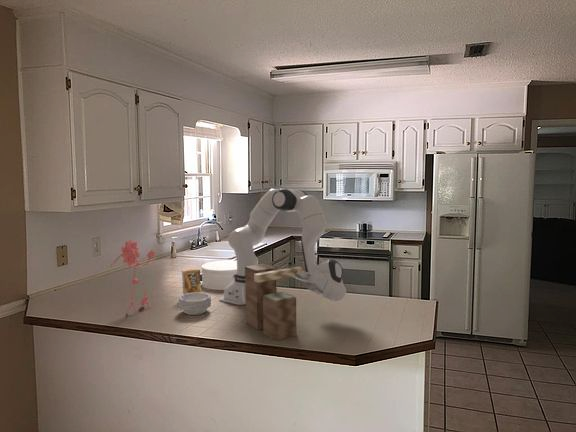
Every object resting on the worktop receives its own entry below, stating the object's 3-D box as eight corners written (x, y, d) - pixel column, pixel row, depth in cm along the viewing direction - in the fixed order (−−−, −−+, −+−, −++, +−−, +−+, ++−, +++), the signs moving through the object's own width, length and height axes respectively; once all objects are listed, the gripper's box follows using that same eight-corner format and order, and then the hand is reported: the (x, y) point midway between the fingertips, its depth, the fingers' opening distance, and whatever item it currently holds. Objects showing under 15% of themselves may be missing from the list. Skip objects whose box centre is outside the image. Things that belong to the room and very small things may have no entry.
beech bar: (298, 273, 202) (298, 266, 202) (303, 274, 200) (302, 267, 200) (254, 281, 190) (254, 273, 190) (258, 282, 188) (257, 275, 187)
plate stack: (195, 289, 270) (195, 270, 269) (210, 277, 298) (209, 259, 297) (243, 290, 267) (243, 270, 265) (253, 278, 294) (253, 260, 293)
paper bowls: (215, 313, 226) (215, 297, 225) (184, 319, 219) (184, 302, 218) (205, 305, 239) (204, 290, 239) (175, 310, 232) (174, 294, 231)
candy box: (198, 295, 257) (197, 268, 255) (201, 297, 253) (200, 269, 252) (182, 298, 253) (181, 270, 251) (185, 300, 249) (184, 271, 247)
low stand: (283, 328, 205) (282, 291, 203) (296, 335, 197) (296, 296, 195) (263, 333, 199) (262, 294, 197) (276, 340, 191) (275, 300, 189)
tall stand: (265, 319, 217) (264, 263, 214) (277, 325, 209) (276, 267, 206) (246, 323, 212) (244, 266, 209) (257, 329, 203) (256, 270, 200)
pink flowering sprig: (162, 303, 243) (157, 236, 239) (126, 319, 219) (121, 245, 216) (138, 301, 249) (133, 235, 245) (101, 316, 226) (95, 244, 222)
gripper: (305, 271, 215) (283, 259, 208) (334, 280, 199) (310, 267, 191) (299, 284, 214) (277, 273, 207) (328, 294, 197) (304, 282, 190)
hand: (293, 270), depth 199 cm, fingers closed on beech bar, 3 cm apart
